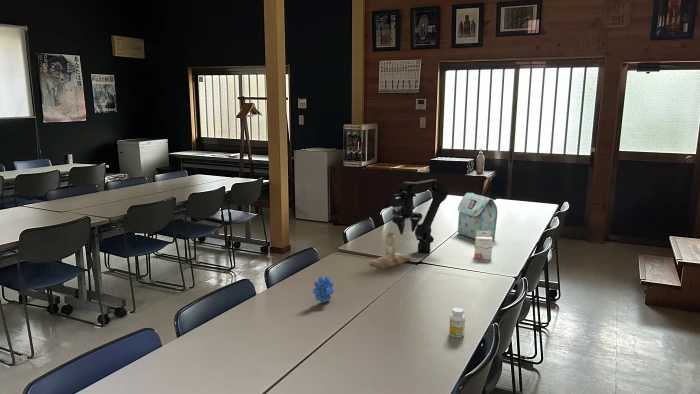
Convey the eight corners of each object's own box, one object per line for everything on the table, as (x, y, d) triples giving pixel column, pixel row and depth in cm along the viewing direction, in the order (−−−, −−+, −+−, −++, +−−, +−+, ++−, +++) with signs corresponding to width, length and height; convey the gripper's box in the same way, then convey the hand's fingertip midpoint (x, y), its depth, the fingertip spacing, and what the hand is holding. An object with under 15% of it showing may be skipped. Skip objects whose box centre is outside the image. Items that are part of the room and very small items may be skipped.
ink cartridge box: (475, 258, 275) (476, 232, 272) (474, 256, 280) (475, 230, 277) (491, 259, 274) (493, 233, 271) (490, 256, 279) (491, 230, 276)
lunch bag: (454, 233, 326) (455, 192, 321) (474, 230, 333) (476, 190, 328) (477, 242, 306) (479, 198, 301) (498, 239, 313) (501, 196, 308)
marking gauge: (389, 256, 273) (389, 231, 270) (397, 258, 268) (398, 233, 266) (382, 258, 269) (383, 232, 267) (391, 260, 265) (391, 234, 262)
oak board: (396, 256, 279) (396, 252, 279) (410, 260, 272) (410, 256, 272) (370, 263, 266) (370, 260, 266) (384, 268, 259) (384, 264, 259)
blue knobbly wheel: (321, 309, 208) (320, 282, 206) (309, 305, 213) (309, 278, 211) (340, 301, 217) (340, 274, 215) (329, 297, 221) (329, 271, 219)
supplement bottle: (453, 329, 190) (454, 305, 189) (466, 334, 187) (468, 309, 185) (446, 334, 186) (447, 310, 184) (460, 339, 183) (461, 314, 181)
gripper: (408, 200, 287) (407, 227, 290) (385, 205, 274) (384, 233, 277) (423, 203, 279) (422, 231, 282) (400, 208, 266) (399, 237, 269)
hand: (407, 233), depth 278 cm, fingers open, 9 cm apart
